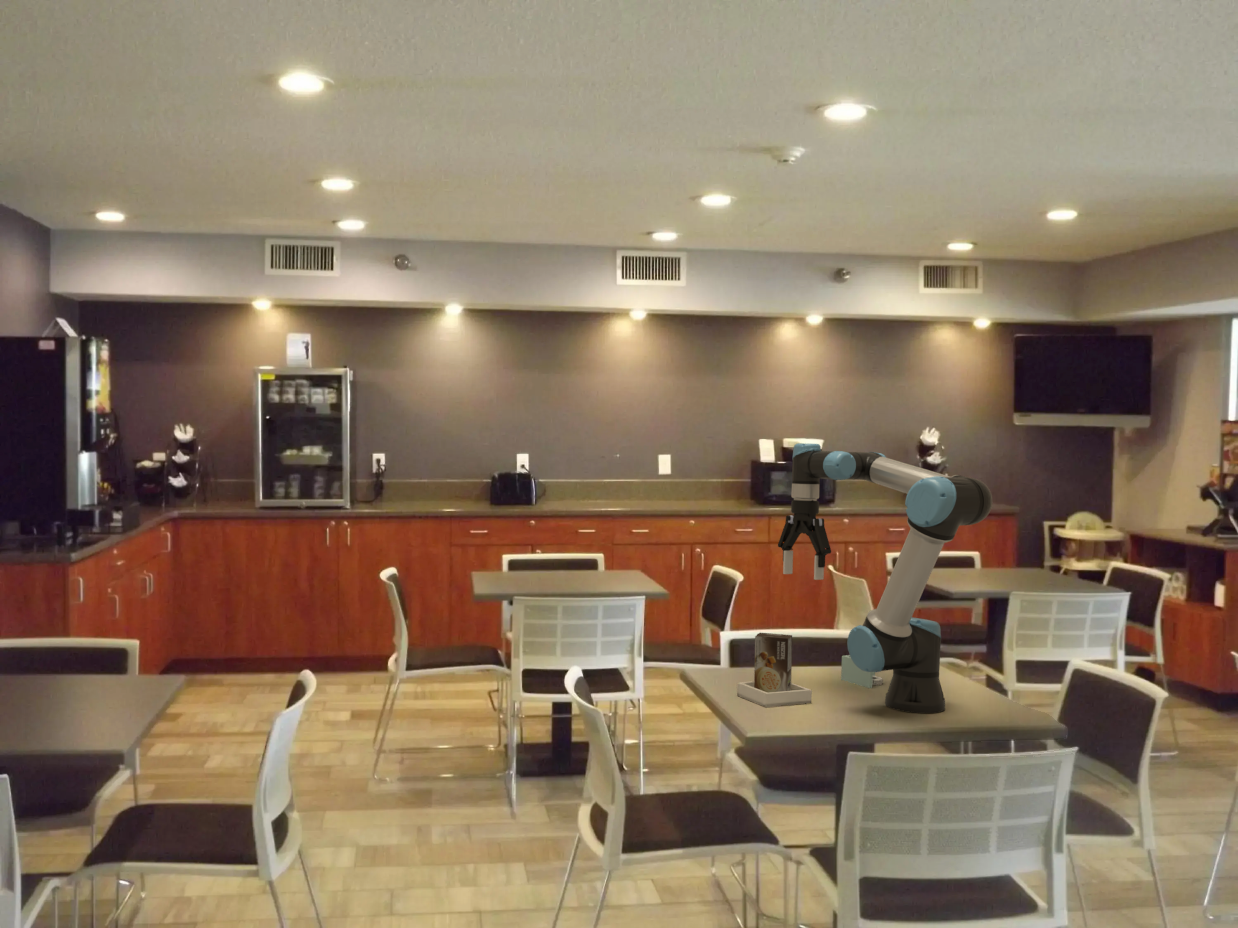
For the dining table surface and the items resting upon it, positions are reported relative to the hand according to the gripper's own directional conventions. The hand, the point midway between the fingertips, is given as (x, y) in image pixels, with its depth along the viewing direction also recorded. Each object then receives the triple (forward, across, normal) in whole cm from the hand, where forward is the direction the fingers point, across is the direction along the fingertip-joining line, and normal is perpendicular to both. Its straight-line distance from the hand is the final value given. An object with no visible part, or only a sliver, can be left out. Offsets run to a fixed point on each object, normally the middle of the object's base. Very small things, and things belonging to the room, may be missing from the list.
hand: (802, 576), depth 311 cm
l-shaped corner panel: (+32, 0, -26) cm, 41 cm away
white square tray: (+31, -8, +15) cm, 35 cm away
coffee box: (+30, -7, +14) cm, 34 cm away
